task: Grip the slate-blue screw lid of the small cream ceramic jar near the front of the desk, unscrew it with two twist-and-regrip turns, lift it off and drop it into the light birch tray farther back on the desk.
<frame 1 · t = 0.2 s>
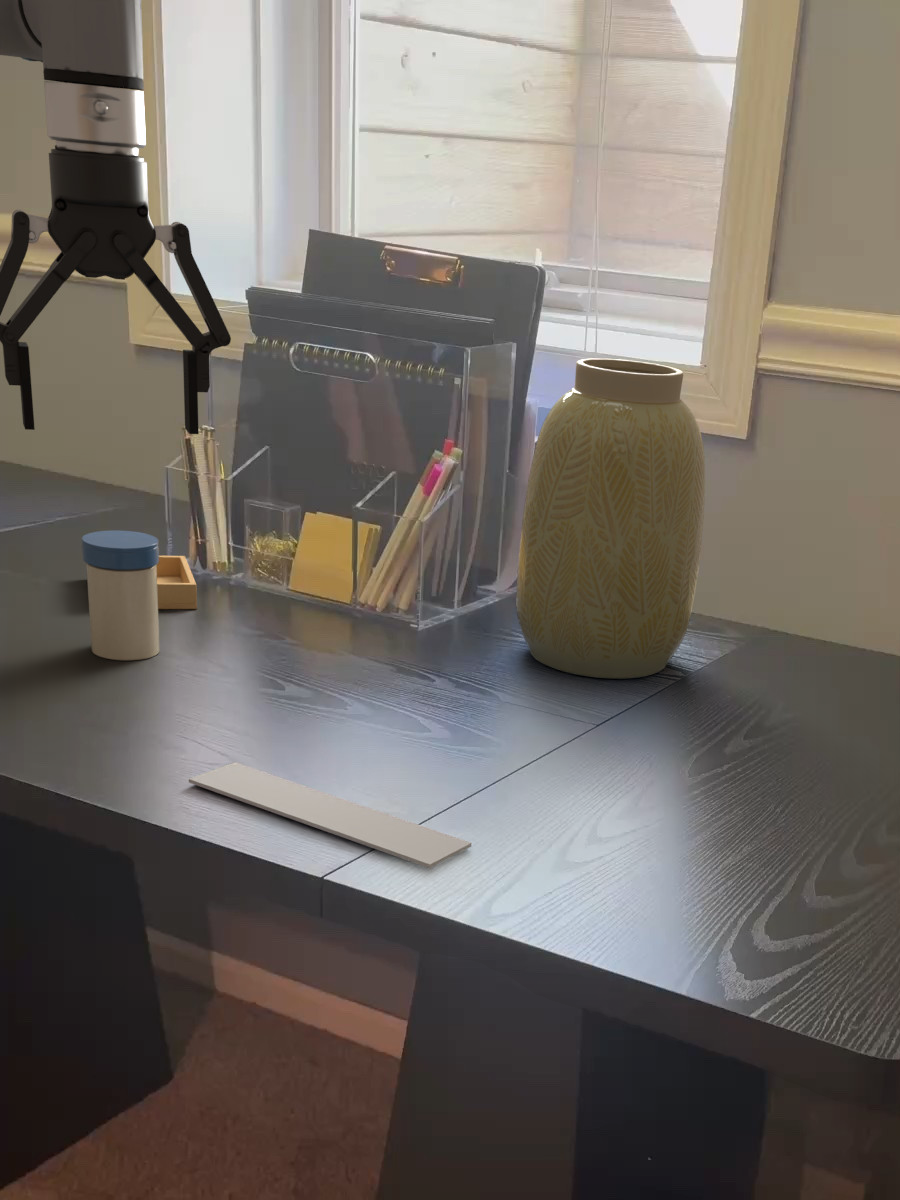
hand: (111, 429, 126), 19 cm above the table, tool pointing down, fingers open, 13 cm apart
nameplate: (326, 817, 105), on the table
lid: (120, 543, 129), point 10 cm above the table, screwed on, not yet turned
tray: (142, 593, 150), on the table
jar: (125, 650, 133), on the table
vase: (597, 660, 144), on the table
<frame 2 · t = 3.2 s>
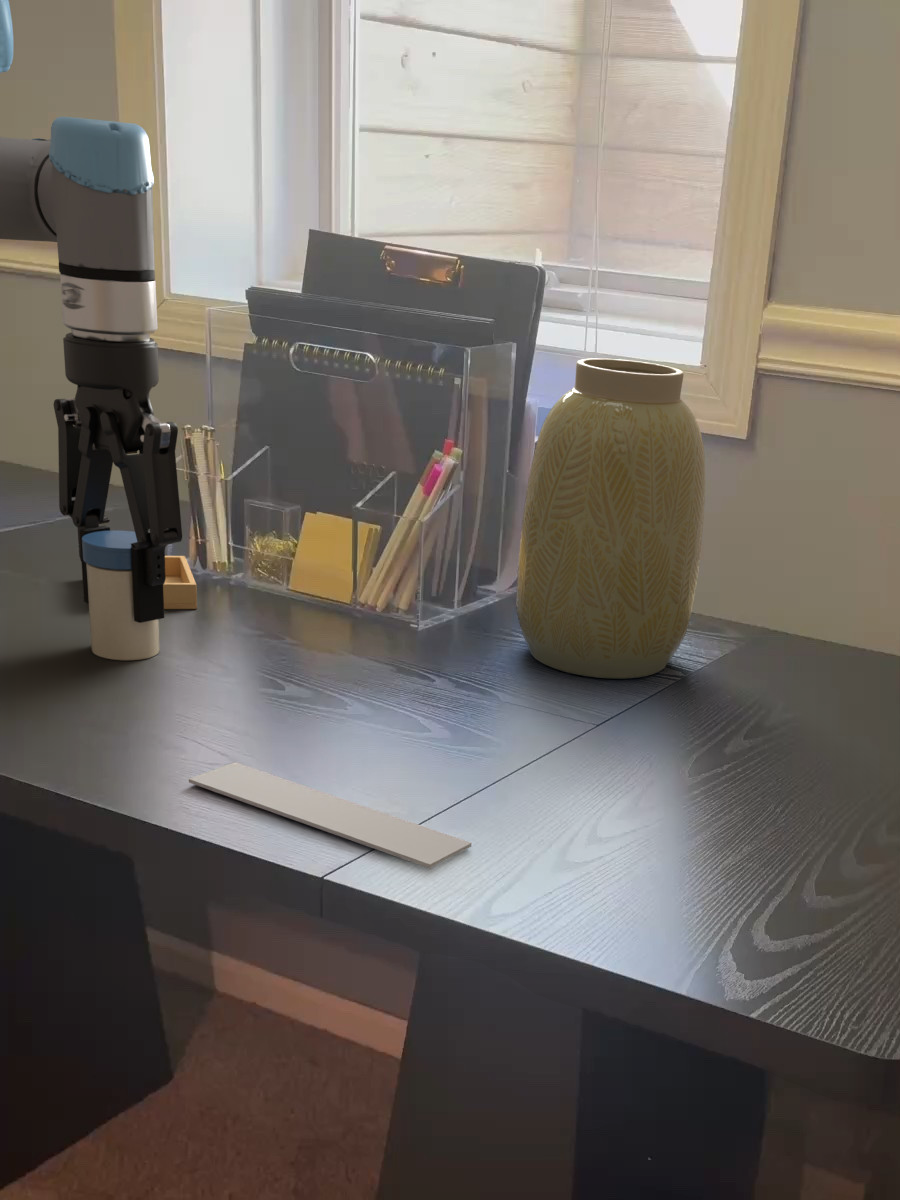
hand: (123, 609, 132), 4 cm above the table, tool pointing down, fingers closed on lid, 6 cm apart
lid: (120, 543, 129), point 10 cm above the table, screwed on, not yet turned, touching gripper
everything else where it was.
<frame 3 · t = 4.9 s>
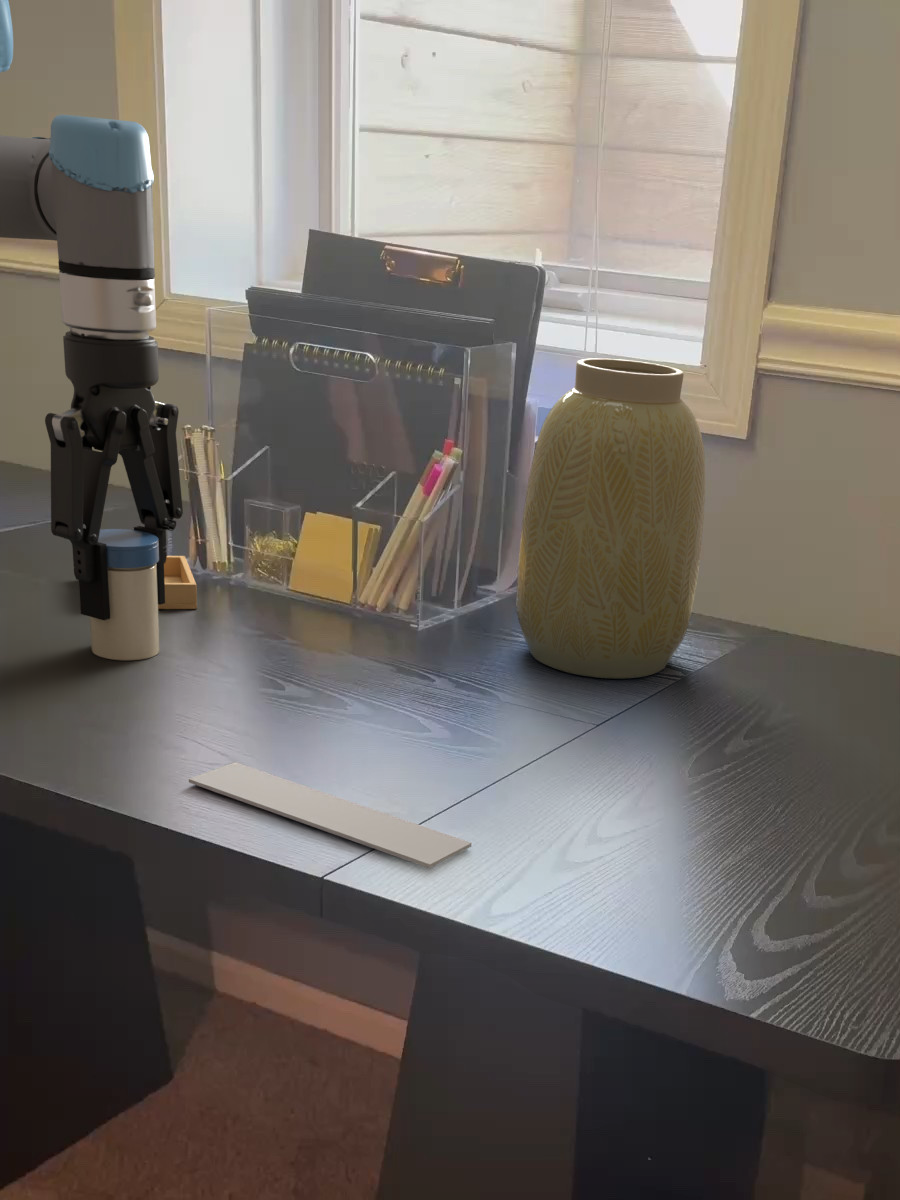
hand: (123, 608, 132), 4 cm above the table, tool pointing down, fingers closed on lid, 6 cm apart
lid: (120, 541, 129), point 10 cm above the table, turned 100° so far, risen 0.1 cm, still on its thread, touching gripper
everything else where it was.
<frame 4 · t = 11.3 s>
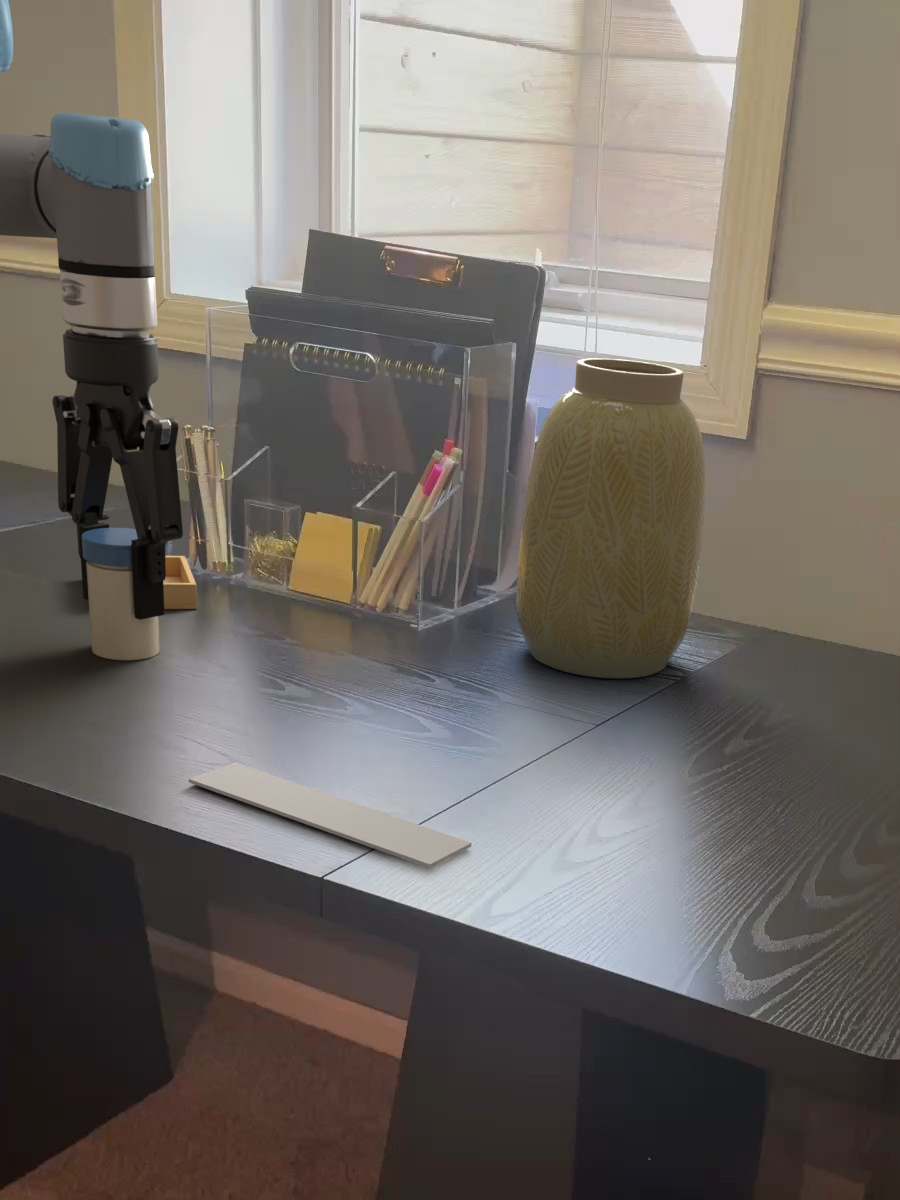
hand: (123, 606, 132), 4 cm above the table, tool pointing down, fingers closed on lid, 6 cm apart
lid: (120, 540, 129), point 10 cm above the table, turned 179° so far, risen 0.2 cm, still on its thread, touching gripper
everything else where it was.
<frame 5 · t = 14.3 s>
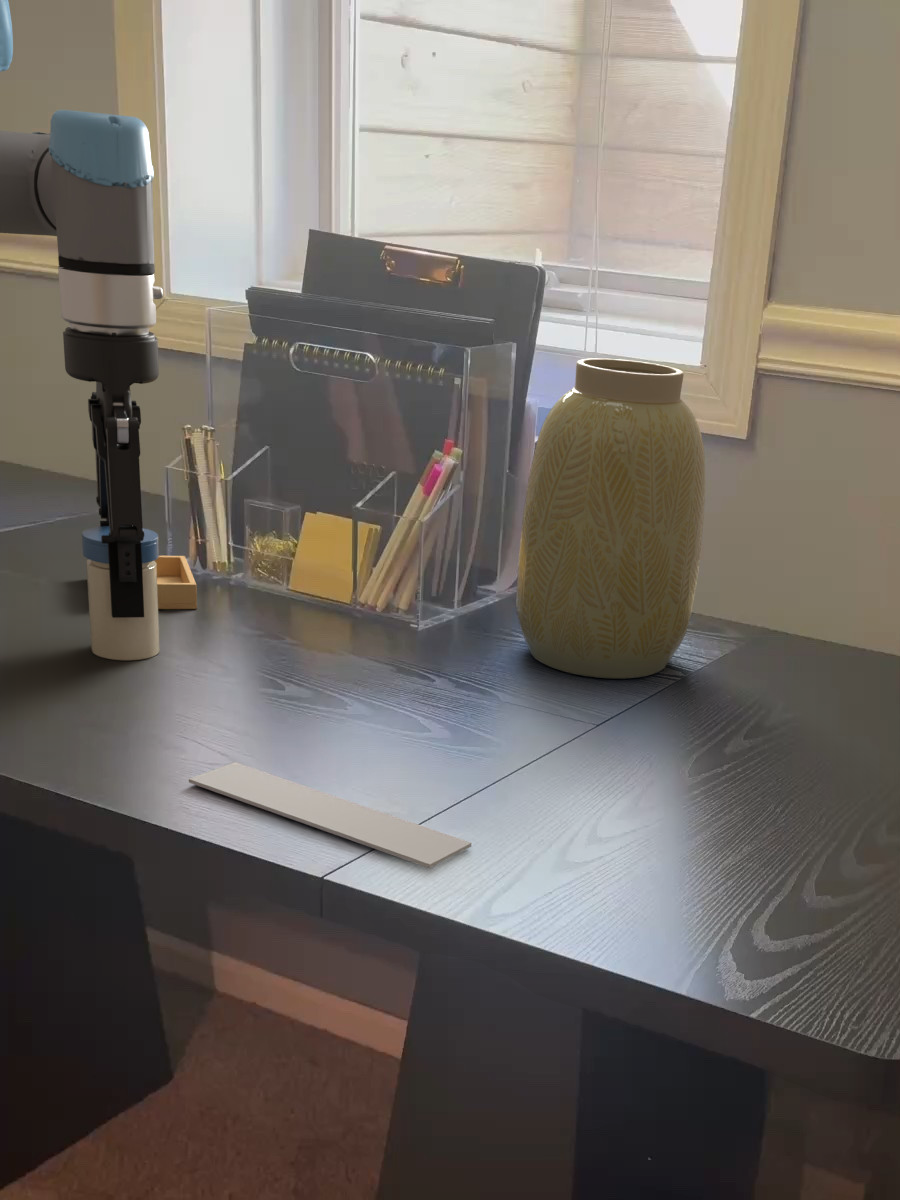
hand: (123, 604, 131), 4 cm above the table, tool pointing down, fingers closed on lid, 6 cm apart
lid: (120, 538, 129), point 10 cm above the table, off its thread, touching gripper
everything else where it was.
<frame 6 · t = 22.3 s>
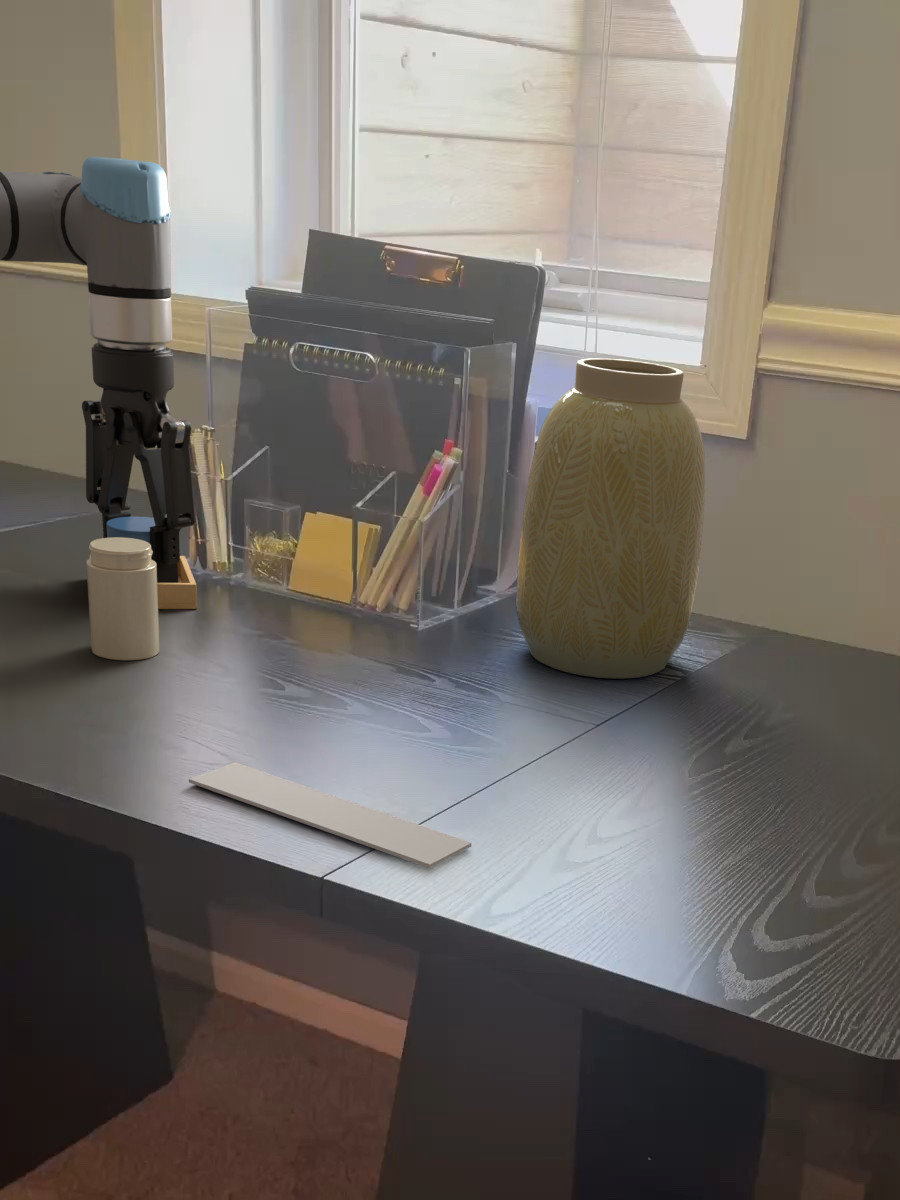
hand: (142, 585, 149), 1 cm above the table, tool pointing down, fingers closed on lid, 6 cm apart
lid: (140, 527, 147), point 7 cm above the table, off its thread, touching gripper
everything else where it was.
when the fingers open (3 cm above the table, at t = 31.6 s): lid drops 7 cm, resting on tray.
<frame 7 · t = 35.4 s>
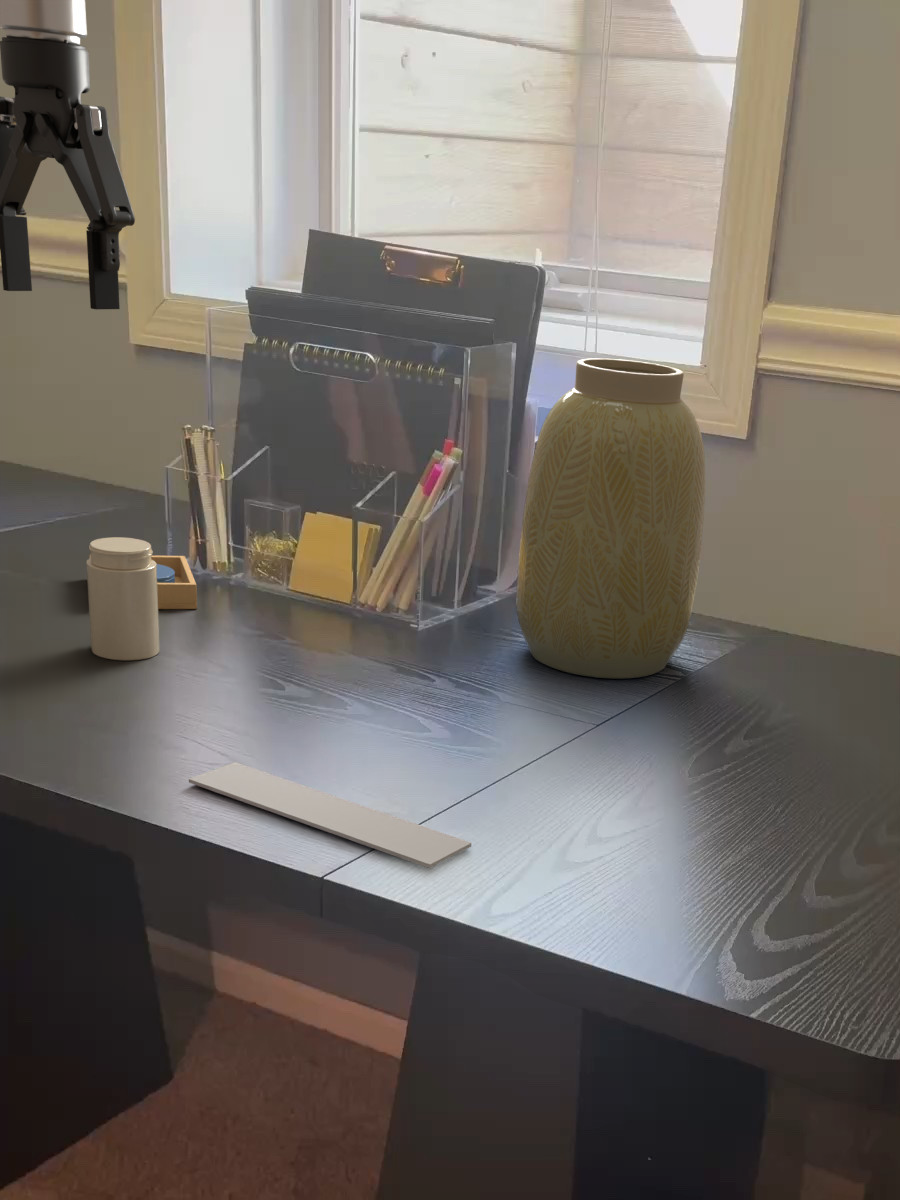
hand: (60, 300, 140), 27 cm above the table, tool pointing down, fingers open, 13 cm apart
lid: (142, 574, 149), point 2 cm above the table, off its thread, touching tray
everything else where it was.
at the end: lid inside the target area in the tray (0.0 cm from its centre), point 2.0 cm above the tray's base; lid point 2.0 cm above the table; the gripper is holding nothing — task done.
